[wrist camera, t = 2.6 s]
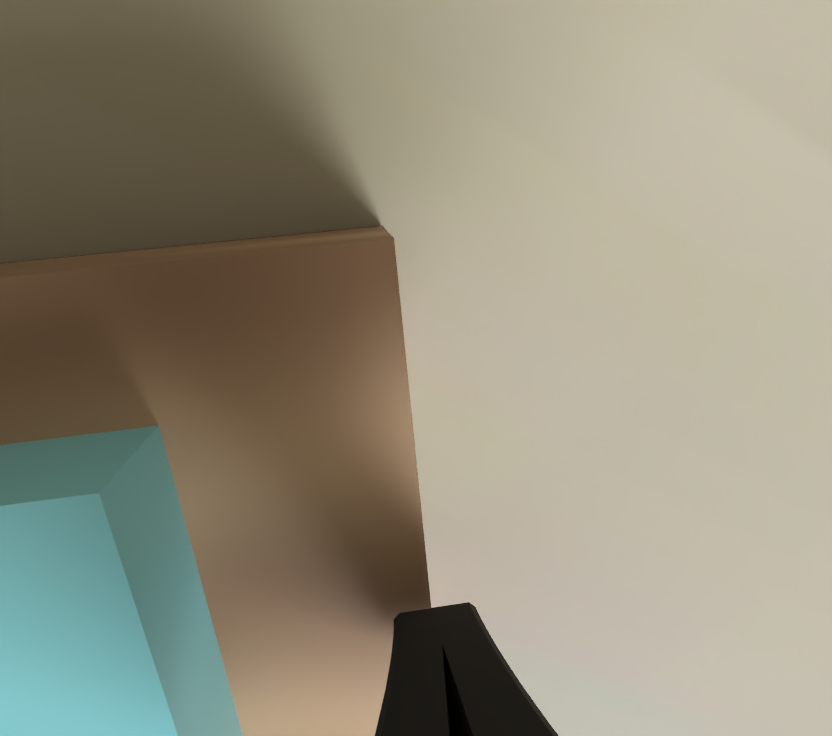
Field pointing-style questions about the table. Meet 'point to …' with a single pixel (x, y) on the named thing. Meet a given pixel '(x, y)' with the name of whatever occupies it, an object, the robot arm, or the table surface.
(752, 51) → the table surface
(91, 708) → the aqua rectangular block
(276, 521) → the brown wooden flat block
